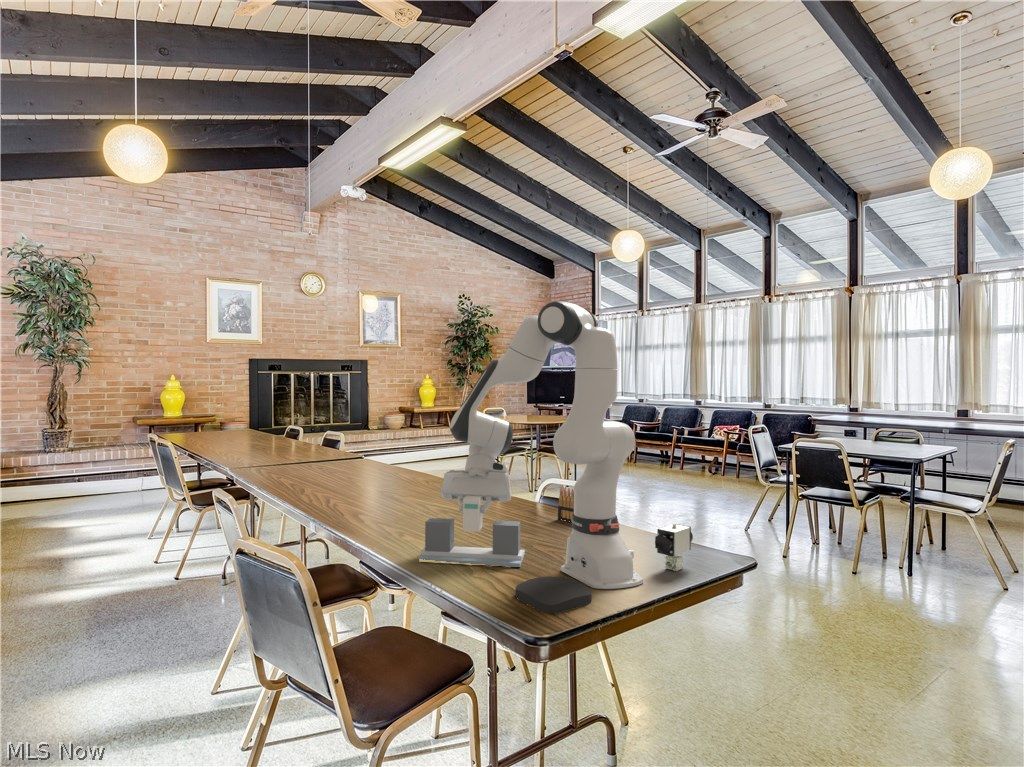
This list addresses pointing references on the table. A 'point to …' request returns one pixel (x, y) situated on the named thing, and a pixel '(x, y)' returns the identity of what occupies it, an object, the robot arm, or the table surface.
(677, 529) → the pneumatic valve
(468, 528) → the block
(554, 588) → the media streaming box
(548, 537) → the table surface
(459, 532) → the table surface
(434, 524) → the twin block stand
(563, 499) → the ammunition clip
